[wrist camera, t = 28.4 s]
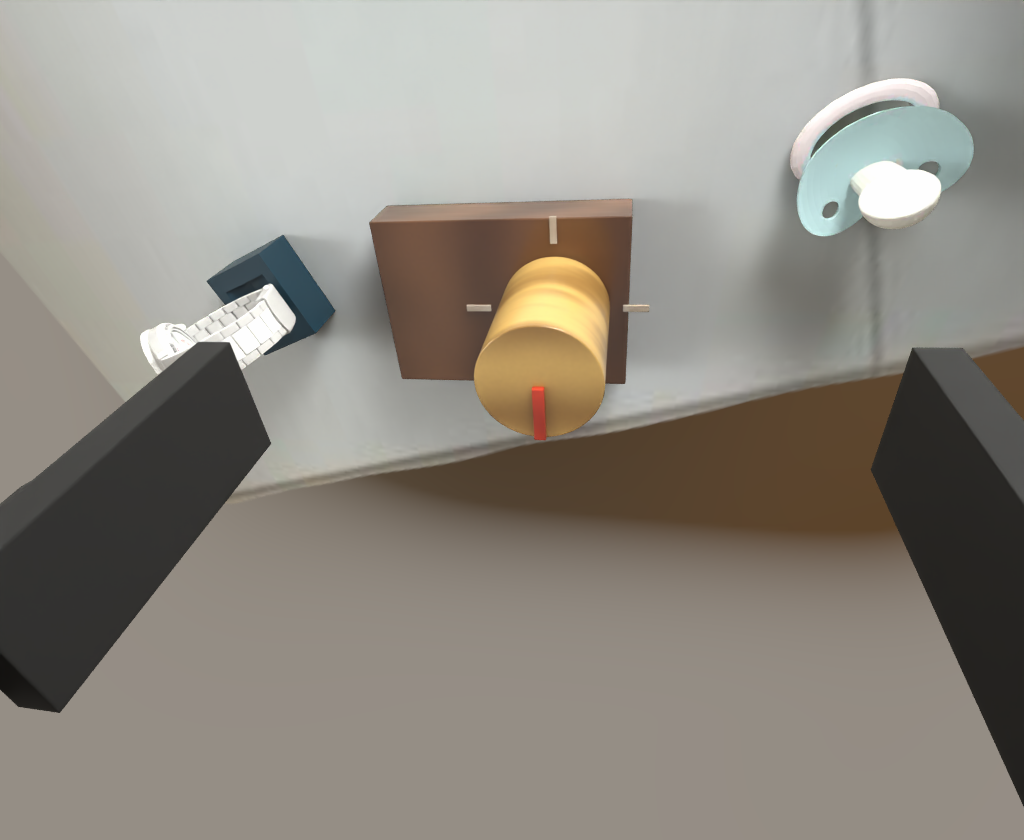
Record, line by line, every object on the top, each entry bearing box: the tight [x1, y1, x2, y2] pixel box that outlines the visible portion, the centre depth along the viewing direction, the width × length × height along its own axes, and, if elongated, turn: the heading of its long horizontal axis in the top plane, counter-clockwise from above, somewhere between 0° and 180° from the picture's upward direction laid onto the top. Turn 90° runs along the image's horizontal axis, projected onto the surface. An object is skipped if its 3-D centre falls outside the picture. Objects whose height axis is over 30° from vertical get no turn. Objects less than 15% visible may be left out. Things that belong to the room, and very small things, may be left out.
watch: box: [140, 235, 335, 375], centre depth 35 cm, size 6×8×11 cm
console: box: [369, 199, 649, 384], centre depth 35 cm, size 15×10×3 cm
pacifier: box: [790, 79, 974, 236], centre depth 27 cm, size 7×6×6 cm
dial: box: [474, 257, 610, 440], centre depth 31 cm, size 6×6×8 cm
